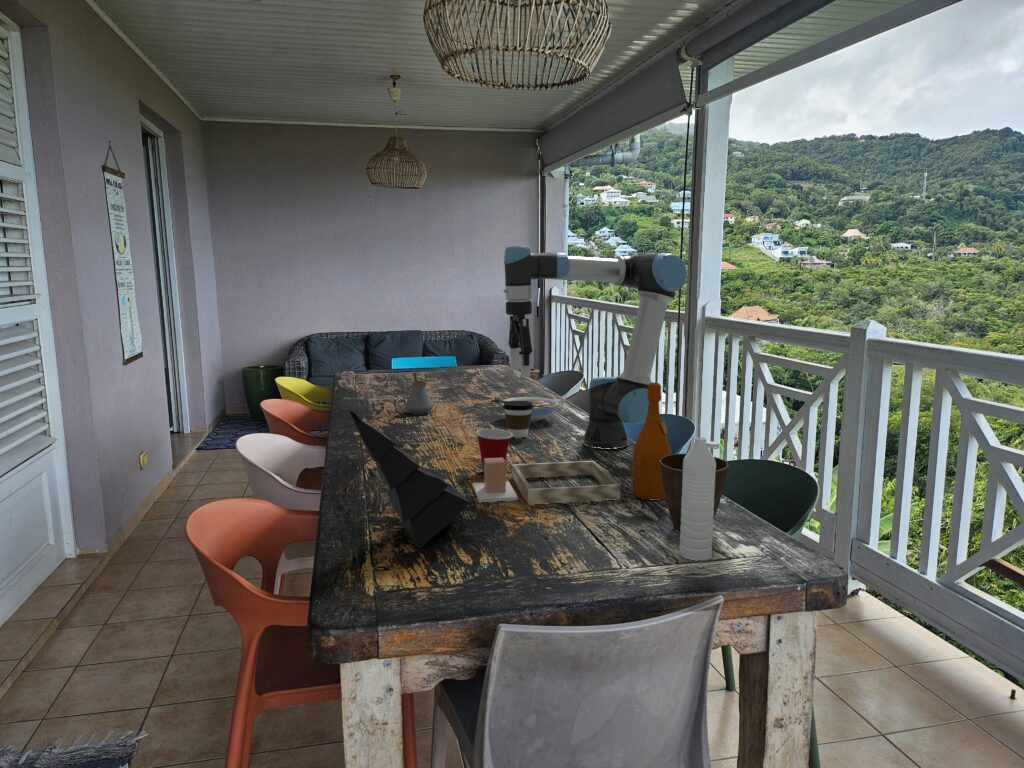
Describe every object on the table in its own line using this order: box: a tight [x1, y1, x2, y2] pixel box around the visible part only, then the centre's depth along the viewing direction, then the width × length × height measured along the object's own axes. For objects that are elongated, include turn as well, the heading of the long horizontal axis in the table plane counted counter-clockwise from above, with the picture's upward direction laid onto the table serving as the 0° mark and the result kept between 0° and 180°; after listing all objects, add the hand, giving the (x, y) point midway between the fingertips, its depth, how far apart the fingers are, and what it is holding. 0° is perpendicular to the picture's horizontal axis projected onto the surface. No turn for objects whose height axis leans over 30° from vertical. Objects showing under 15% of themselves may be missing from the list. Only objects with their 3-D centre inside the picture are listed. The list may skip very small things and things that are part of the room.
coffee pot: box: [405, 371, 434, 415], centre depth 296 cm, size 21×12×15 cm, turn 14°
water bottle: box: [678, 436, 720, 562], centre depth 143 cm, size 9×6×25 cm
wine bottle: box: [631, 382, 672, 500], centre depth 183 cm, size 10×10×30 cm
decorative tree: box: [349, 410, 471, 549], centre depth 153 cm, size 15×15×35 cm
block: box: [483, 458, 507, 493], centre depth 186 cm, size 5×5×8 cm
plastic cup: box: [475, 428, 513, 471], centre depth 206 cm, size 11×11×12 cm
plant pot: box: [660, 453, 729, 533], centre depth 160 cm, size 15×15×16 cm
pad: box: [472, 480, 519, 504], centre depth 187 cm, size 10×14×1 cm
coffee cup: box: [502, 401, 534, 439], centre depth 250 cm, size 11×11×12 cm
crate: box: [511, 460, 622, 506], centre depth 191 cm, size 24×24×4 cm
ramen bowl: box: [490, 396, 559, 423], centre depth 277 cm, size 25×23×8 cm
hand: (520, 373), depth 208 cm, fingers open, 13 cm apart
